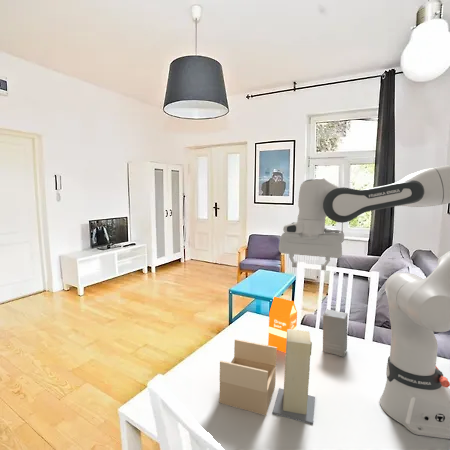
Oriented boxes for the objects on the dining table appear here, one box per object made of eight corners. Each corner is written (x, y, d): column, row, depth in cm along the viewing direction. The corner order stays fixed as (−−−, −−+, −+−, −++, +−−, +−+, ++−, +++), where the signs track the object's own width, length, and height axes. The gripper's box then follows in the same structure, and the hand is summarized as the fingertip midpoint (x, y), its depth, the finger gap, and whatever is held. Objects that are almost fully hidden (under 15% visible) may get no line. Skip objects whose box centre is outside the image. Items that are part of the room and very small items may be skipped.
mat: (315, 398, 90) (315, 396, 90) (312, 424, 80) (312, 422, 80) (279, 389, 94) (279, 388, 94) (272, 413, 84) (272, 411, 84)
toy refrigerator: (309, 416, 82) (313, 344, 80) (282, 411, 84) (285, 340, 82) (308, 397, 90) (311, 331, 88) (283, 393, 92) (286, 328, 89)
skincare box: (346, 350, 119) (349, 312, 117) (343, 358, 113) (345, 318, 111) (325, 344, 123) (327, 307, 122) (320, 352, 117) (322, 313, 116)
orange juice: (276, 339, 127) (278, 294, 125) (295, 345, 122) (298, 298, 120) (267, 346, 120) (269, 299, 118) (288, 354, 115) (290, 304, 113)
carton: (275, 385, 96) (276, 347, 95) (265, 416, 83) (267, 372, 81) (234, 375, 101) (235, 339, 100) (219, 403, 87) (219, 361, 86)
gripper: (344, 228, 98) (341, 269, 99) (281, 225, 104) (280, 263, 106) (345, 230, 92) (342, 274, 93) (278, 226, 98) (277, 267, 100)
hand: (308, 268), depth 100 cm, fingers open, 8 cm apart
